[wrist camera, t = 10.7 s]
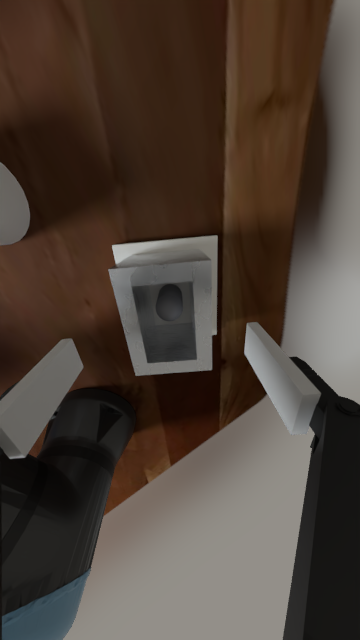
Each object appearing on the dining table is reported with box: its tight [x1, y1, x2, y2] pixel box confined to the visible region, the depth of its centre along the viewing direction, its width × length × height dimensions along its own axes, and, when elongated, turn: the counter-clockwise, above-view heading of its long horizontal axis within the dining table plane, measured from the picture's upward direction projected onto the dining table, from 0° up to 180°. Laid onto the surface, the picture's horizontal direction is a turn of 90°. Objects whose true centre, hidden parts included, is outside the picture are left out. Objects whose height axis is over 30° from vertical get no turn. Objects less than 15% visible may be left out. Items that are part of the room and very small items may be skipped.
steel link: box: [108, 249, 212, 376], centre depth 20 cm, size 11×8×8 cm
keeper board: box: [112, 235, 218, 335], centre depth 22 cm, size 13×12×7 cm
